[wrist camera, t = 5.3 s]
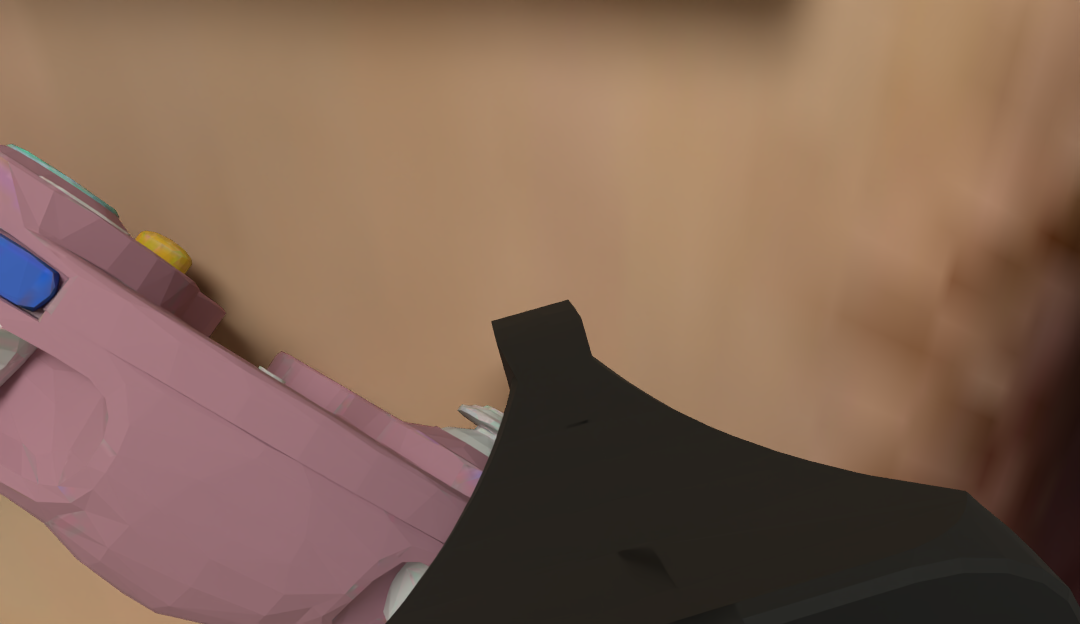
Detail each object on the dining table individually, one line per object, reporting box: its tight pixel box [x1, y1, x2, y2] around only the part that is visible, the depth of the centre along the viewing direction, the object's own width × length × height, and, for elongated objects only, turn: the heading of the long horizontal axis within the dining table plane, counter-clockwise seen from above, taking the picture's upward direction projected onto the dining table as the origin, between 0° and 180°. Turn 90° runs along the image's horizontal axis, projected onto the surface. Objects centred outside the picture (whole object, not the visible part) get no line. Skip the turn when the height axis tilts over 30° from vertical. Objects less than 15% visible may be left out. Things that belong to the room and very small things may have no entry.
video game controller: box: [0, 144, 504, 624], centre depth 11 cm, size 10×5×7 cm, turn 46°
